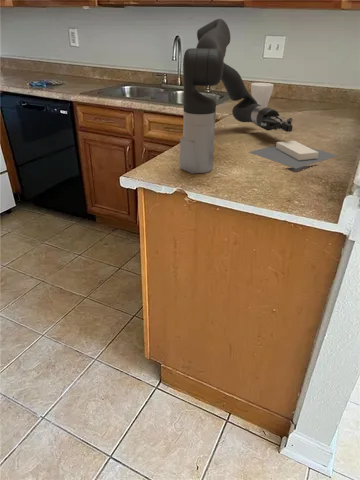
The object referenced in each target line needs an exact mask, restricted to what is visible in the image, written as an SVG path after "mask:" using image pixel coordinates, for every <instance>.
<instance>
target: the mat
mask: <svg viewBox="0 0 360 480" xmlns="http://www.w3.org/2000/svg"><path fill="white" fill-rule="evenodd" d="M305 146H306V145H305ZM306 147H309V148H311V149H313V150H315V151H317V152H319V153H318V158H316V159H310V160H301V161H299V160H297V159H295V158H293V157H291V156H289V155H288V154H286V153H284V152H282V151H280V150H278V149H277V148H276V144H275V145H271V146H267V147H262V148H260V149H255V150H251V151H249V153H251V154H253V155H256V156H258V157H261V158H264V159H267V160H270V161H273V162H276V163H277V164H282V165H284V166H287V168H284V169H285V170H288V171H291V172H292V173H293V172H294V173H297V172H300V171H303V169H304V170H307V169H310V167H311V168H313V166H314V167H316V166H318V164H317V163H319V162H323V161H326V160H329V159H332V158H336V157H339V155H337V154H334V153H331V152H327V151H324V150H320V149H317V148H313V147H310V146H306Z"/></svg>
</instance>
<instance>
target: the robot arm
mask: <svg viewBox="0 0 360 480" xmlns="http://www.w3.org/2000/svg"><path fill="white" fill-rule="evenodd" d="M196 31H197V32H196V38H197V41H198V42H197V45H196V48H187V49H186V50H185V51H184V54H183V57H182V58H183V59H182V74H183V75H182V76H183V79H182V80H183V127H182V137H180V139H179V144H180V145H179V149H180V150H179V151H180V152H179V169H180V170H182V171H185V172H187V173H189V174H191V175H194V174H206V173H210V172H212V170H213V164H214V163H213V162H214V145H215V130H216V128H215V127H216V111H217V103H216V101H215V99H212V98H211V97H207V96H206V95H203V94H202V93H201V92H199V91H198V89H197V88H196V87H197V86H198V87H199V86H200V87H212V86H213V87H215V86H217V85H218V84H219V83H220V82H222V84H223V86H224V87H225V89H226V92H227V94H228V96H229V98H230V100H231V101H233V102H234V101H235V102H236V101H239V100H240V101H239V102H238V103H237V104H235V105H234V106H233V108H232V116H233V118H234V120H237V122H241V123H253V124H254V125H255V126H257V127H259V128H261V129H263V130H266V131H272V130H274V131H277V130H278V131H284V132H287V133H290V132H292V131H293V118H292V117H289V118H287V119H285V117H282V116H281V115H280V113H279V112H278V110H275V109H273V108H272V107H268V106H267V107H266V106H261V105H259V104H257V102H256V100H255V99H254V98H253V97H252V94H251V93H250V92H249V90H247V87H246V86H245V83H244V80H243V78H242V75H241V74H240V73H239V72H238V71H237V70H236V69H234V68H233V67H231V66H230V65H228V64H227V63H225V61H224V60H225V56H226V53H227V48H228V46H229V45H230V43H231V32H230V28H229V26H228V23H227V22H226V21H225V20H224V19H222V18H217V19H214V20H213V21H210V22H208V23H207V24H206V25H204V26H202V27H200V28H198V29H197V30H196Z"/></svg>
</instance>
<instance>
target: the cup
mask: <svg viewBox="0 0 360 480" xmlns="http://www.w3.org/2000/svg"><path fill="white" fill-rule="evenodd" d="M273 89H274V84H273V83H268V82H252V83H251V84H250V92H251V93H250V95H251V96H252V97H253V98H254V99H255V100H256V102H257V104H259V105H261V106H266V107H268V105H269V102H270V99H271V97H272V93H273Z"/></svg>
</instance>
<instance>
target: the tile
mask: <svg viewBox="0 0 360 480" xmlns="http://www.w3.org/2000/svg"><path fill="white" fill-rule="evenodd" d="M275 145H276V148H277V149H278V150H280V151H282V152H284V153H286V154H288V155H289V156H291V157H293V158H295V159H297V160H299V161H301V160H310V159H316V158H318V153H319V152H317V151H315V150H313V149H311V148H312V147H310V146H307V147H306V145H304V144H302V143H301V142H298V141H296V140H285V141H277V142H276V144H275ZM309 147H310V148H309Z"/></svg>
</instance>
